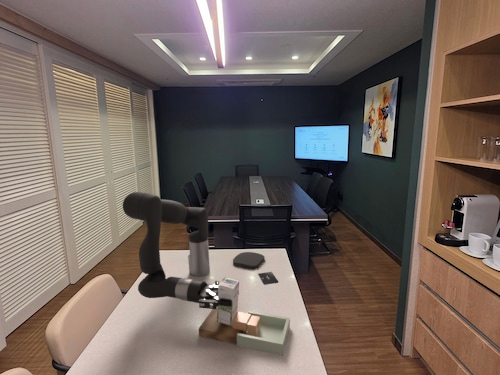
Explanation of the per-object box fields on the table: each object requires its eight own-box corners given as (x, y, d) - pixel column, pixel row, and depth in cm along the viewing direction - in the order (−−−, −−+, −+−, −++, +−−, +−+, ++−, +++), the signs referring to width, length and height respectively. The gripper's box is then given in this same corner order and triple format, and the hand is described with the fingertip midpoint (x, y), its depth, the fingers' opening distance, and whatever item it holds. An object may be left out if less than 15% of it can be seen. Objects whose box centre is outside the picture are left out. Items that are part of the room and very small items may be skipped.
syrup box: (237, 316, 100) (240, 279, 97) (231, 327, 95) (233, 288, 92) (222, 312, 102) (224, 276, 99) (215, 322, 96) (217, 284, 93)
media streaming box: (255, 271, 141) (255, 265, 141) (230, 266, 147) (230, 260, 147) (266, 259, 154) (266, 254, 153) (242, 254, 160) (242, 250, 160)
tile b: (247, 324, 93) (255, 326, 92) (251, 315, 98) (260, 316, 97) (247, 337, 94) (256, 339, 93) (252, 327, 99) (260, 329, 98)
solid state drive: (264, 285, 128) (264, 283, 128) (258, 274, 138) (258, 273, 137) (278, 283, 130) (278, 281, 130) (271, 272, 139) (271, 271, 139)
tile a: (232, 328, 95) (232, 320, 95) (237, 318, 100) (237, 311, 100) (246, 331, 94) (246, 323, 93) (251, 321, 99) (251, 314, 98)
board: (199, 336, 96) (198, 328, 96) (213, 314, 107) (213, 307, 107) (237, 344, 92) (237, 336, 91) (248, 321, 103) (248, 314, 103)
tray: (237, 345, 92) (236, 335, 91) (249, 320, 104) (248, 310, 103) (282, 355, 87) (282, 344, 86) (289, 328, 99) (289, 318, 99)
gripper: (179, 291, 93) (226, 299, 88) (200, 271, 107) (242, 277, 102) (181, 311, 95) (227, 321, 90) (201, 289, 108) (242, 296, 103)
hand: (235, 297), depth 96 cm, fingers closed on syrup box, 6 cm apart
